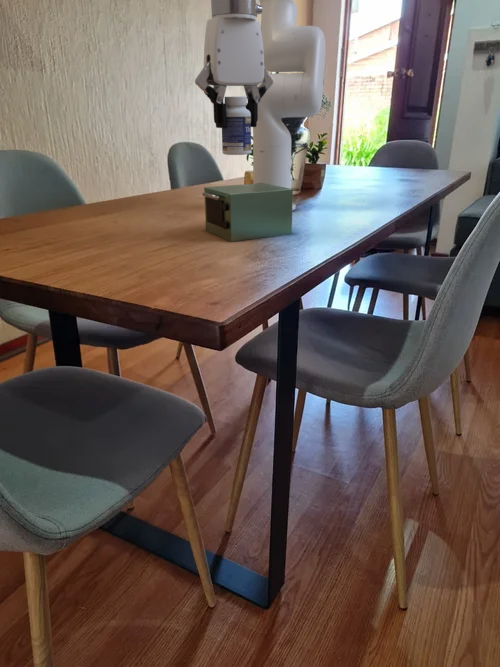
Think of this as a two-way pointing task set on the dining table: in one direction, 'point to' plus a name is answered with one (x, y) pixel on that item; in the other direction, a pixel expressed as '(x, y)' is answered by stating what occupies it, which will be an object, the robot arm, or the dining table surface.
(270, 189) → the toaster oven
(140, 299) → the dining table surface
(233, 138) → the pill bottle
